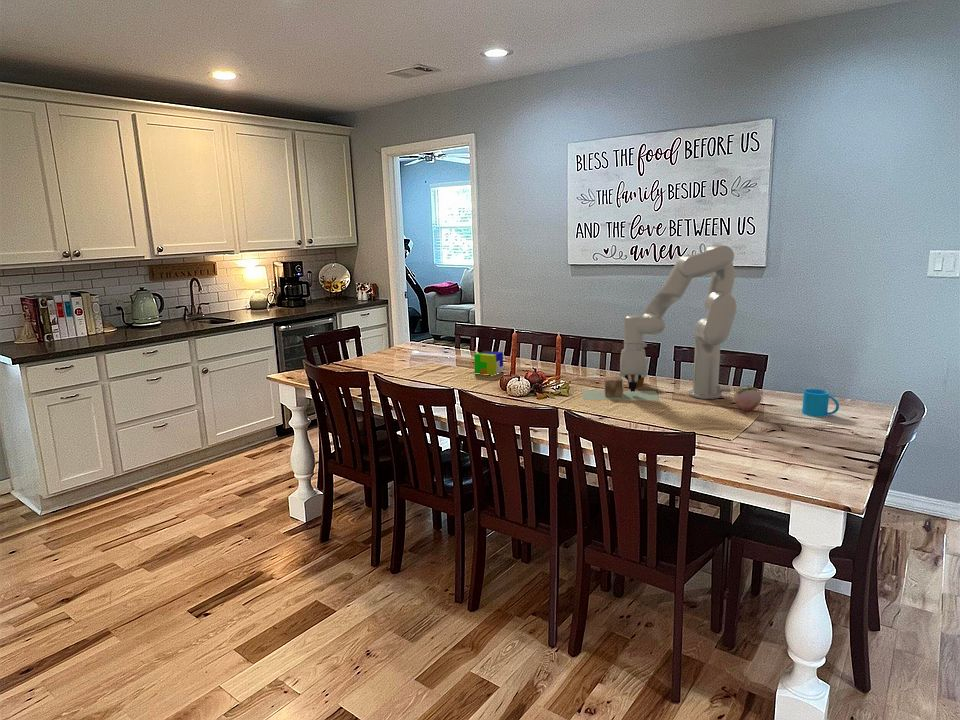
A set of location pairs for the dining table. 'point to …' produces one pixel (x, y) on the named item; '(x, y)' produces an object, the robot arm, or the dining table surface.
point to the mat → (626, 396)
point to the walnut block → (613, 386)
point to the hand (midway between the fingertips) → (632, 390)
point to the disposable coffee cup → (641, 380)
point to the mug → (817, 403)
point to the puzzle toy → (488, 362)
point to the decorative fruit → (747, 398)
